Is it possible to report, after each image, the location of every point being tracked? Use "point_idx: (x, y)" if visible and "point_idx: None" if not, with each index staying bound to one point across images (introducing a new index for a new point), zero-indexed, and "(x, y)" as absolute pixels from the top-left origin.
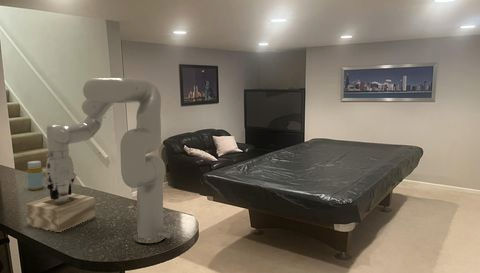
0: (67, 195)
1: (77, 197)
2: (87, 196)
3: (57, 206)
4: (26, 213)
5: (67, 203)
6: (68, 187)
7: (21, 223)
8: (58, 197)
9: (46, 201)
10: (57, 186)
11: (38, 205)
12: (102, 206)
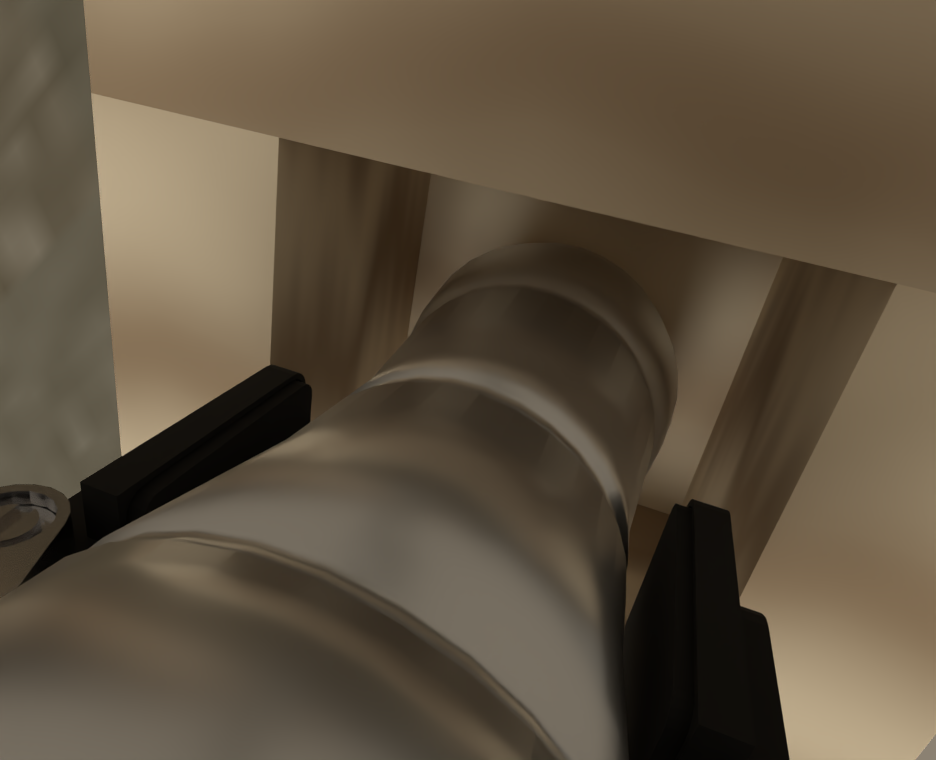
0: (429, 368)
1: (237, 252)
2: (104, 71)
3: (928, 316)
4: None
5: (648, 209)
6: (250, 467)
7: None
8: (623, 510)
9: None
10: None
11: (871, 725)
12: (46, 136)
